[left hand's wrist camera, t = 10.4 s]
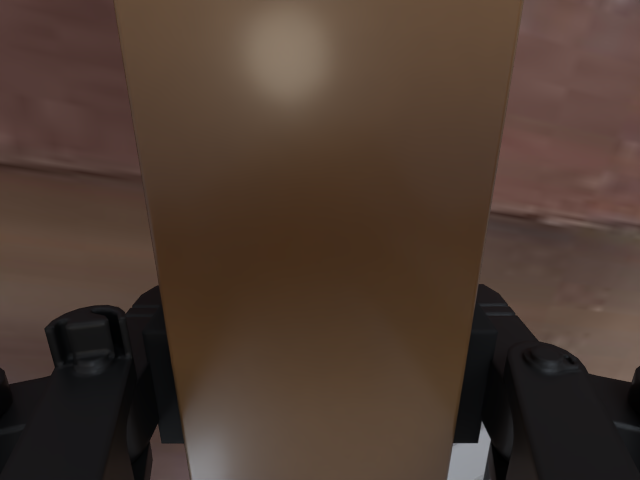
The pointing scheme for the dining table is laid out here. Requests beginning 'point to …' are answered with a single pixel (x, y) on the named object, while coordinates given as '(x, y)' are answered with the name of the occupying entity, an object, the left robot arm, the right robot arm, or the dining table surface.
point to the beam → (318, 221)
